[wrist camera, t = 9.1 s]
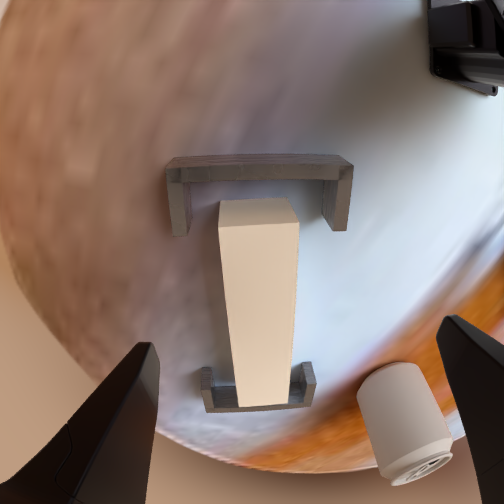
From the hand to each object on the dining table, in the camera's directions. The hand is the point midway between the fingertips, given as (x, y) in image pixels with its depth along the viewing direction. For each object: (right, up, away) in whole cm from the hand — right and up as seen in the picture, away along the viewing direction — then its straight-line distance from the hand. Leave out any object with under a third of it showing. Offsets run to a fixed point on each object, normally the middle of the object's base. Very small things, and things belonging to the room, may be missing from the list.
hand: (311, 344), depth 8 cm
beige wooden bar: (-1, -1, +14) cm, 14 cm away
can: (+13, -11, +21) cm, 27 cm away
